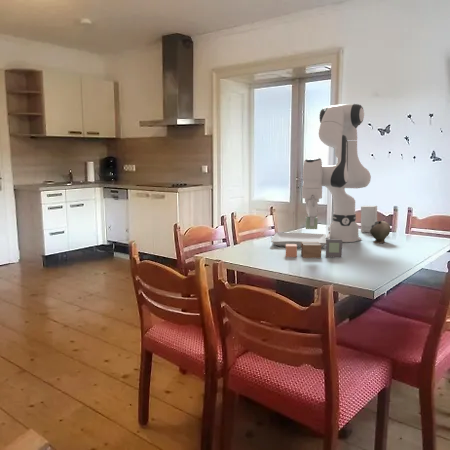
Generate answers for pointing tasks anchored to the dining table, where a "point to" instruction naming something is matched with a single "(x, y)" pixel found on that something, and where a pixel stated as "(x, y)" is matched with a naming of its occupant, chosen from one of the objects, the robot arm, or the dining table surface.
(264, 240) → the dining table surface
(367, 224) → the skincare box
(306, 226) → the sage green cube
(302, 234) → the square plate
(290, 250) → the terracotta cube
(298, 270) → the dining table surface
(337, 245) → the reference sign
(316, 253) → the walnut block
